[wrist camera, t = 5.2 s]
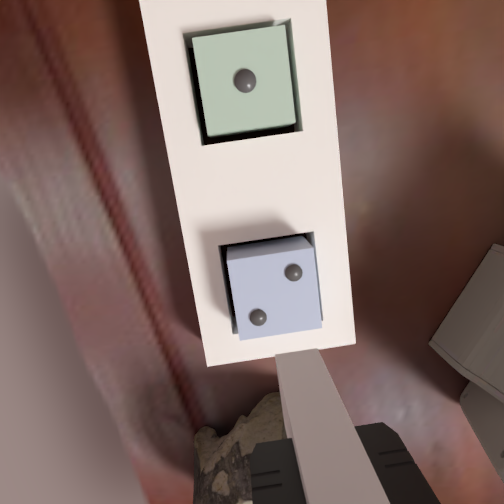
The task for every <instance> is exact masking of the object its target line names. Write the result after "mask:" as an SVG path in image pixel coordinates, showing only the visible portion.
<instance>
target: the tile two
mask: <svg viewBox="0 0 504 504" xmlns="http://www.w3.org/2000/svg"><path fill="white" fill-rule="evenodd" d="M227 265H228V271H229V277H230V284H231V290H232V296H233V302H234V308H235V314H236V321H237V327H238V333H239V339H240V341H242V340H248V339H255V338H261V337H268V336H274V335H281V334H287V333H294V332H300V331H307V330H313V329H319V328H322V321H321V312H320V303H319V293H318V284H317V275H316V266H315V256H314V248H313V247H312V245H311V244H310V243H309V242H308V241H307V240H306V239H305V238H304V237H303V236H297V237H291V238H284V239H277V240H271V241H264V242H257V243H251V244H244V245H237V246H231V247H227Z"/></svg>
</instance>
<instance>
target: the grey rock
mask: <svg viewBox="0 0 504 504" xmlns="http://www.w3.org/2000/svg"><path fill="white" fill-rule="evenodd" d="M281 439H287V434H286V429H285V424H284V418H283V410H282V403H281V396H280V391H279V392H274V393H269V394H267V395H266V396H264V397H263V399H262V400H261V401H260V402H259V403H258V404H257V405H256V407H255V408H254V409H253V410H252V411H251V413H250V415H249V416H248V417H246V416H244V415H241V416H240V417H239V419H238V421H237V422H236V424H235V426H234V428H233V429H232V430H231V431H230V432H229V433H228V435H225V436H222V437H221V438H219V437H218V436H217V434H216V431H215V429H212V428H210V427H207V426H204V427H202V428H200V429H199V431H198V432H197V433H196V435H195V437H194V494H193V504H253V503H252V488H251V473H250V456H251V454H252V452H253V449H254V447H255V445H256V443H262V442H268V441H275V440H281Z"/></svg>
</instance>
